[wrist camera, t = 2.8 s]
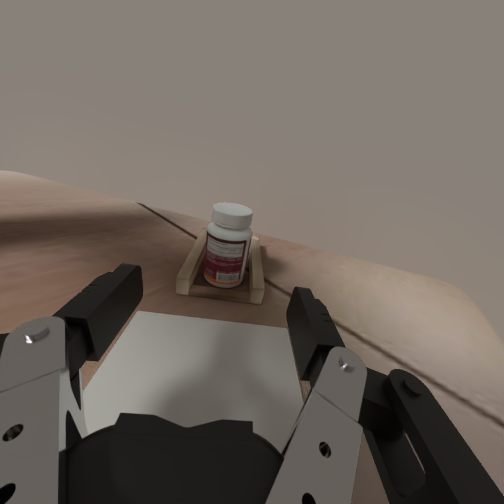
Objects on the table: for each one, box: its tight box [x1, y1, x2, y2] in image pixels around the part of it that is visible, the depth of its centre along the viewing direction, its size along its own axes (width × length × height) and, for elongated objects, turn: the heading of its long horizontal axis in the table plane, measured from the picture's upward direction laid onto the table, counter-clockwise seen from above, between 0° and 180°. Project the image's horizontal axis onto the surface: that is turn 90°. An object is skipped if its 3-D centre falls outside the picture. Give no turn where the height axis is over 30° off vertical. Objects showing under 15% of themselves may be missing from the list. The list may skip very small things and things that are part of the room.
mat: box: [83, 311, 304, 453], centre depth 13 cm, size 13×10×1 cm
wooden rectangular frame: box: [176, 228, 265, 305], centre depth 26 cm, size 9×13×2 cm, turn 1°
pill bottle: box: [204, 203, 253, 288], centre depth 22 cm, size 5×5×8 cm
